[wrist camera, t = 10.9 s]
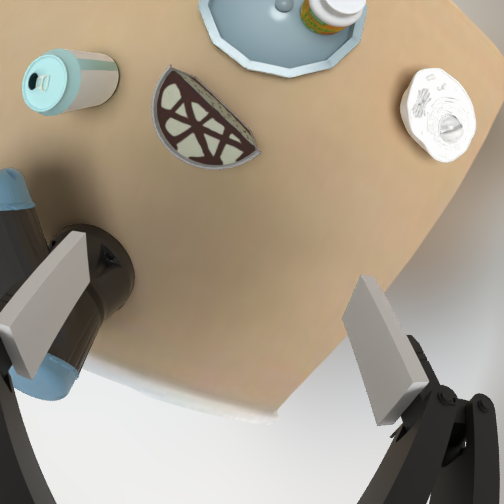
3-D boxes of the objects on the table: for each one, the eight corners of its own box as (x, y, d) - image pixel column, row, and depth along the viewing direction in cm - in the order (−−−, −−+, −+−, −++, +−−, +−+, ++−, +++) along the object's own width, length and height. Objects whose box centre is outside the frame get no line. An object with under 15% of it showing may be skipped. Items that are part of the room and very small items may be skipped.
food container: (151, 105, 34) (120, 113, 25) (186, 69, 32) (165, 63, 23) (222, 172, 38) (214, 200, 30) (259, 139, 36) (262, 156, 28)
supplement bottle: (291, 23, 29) (305, 3, 20) (309, -11, 26) (327, -39, 18) (334, 43, 30) (361, 31, 21) (351, 9, 27) (381, -11, 19)
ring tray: (190, 61, 32) (185, 59, 29) (222, -62, 23) (221, -71, 20) (340, 93, 33) (347, 93, 31) (367, -28, 25) (375, -35, 22)
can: (82, 114, 34) (28, 130, 23) (67, 69, 31) (10, 72, 20) (127, 91, 33) (81, 97, 22) (111, 44, 30) (61, 34, 19)
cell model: (435, 57, 30) (464, 57, 24) (463, 137, 35) (492, 148, 29) (375, 82, 33) (398, 82, 27) (409, 164, 38) (434, 179, 32)
